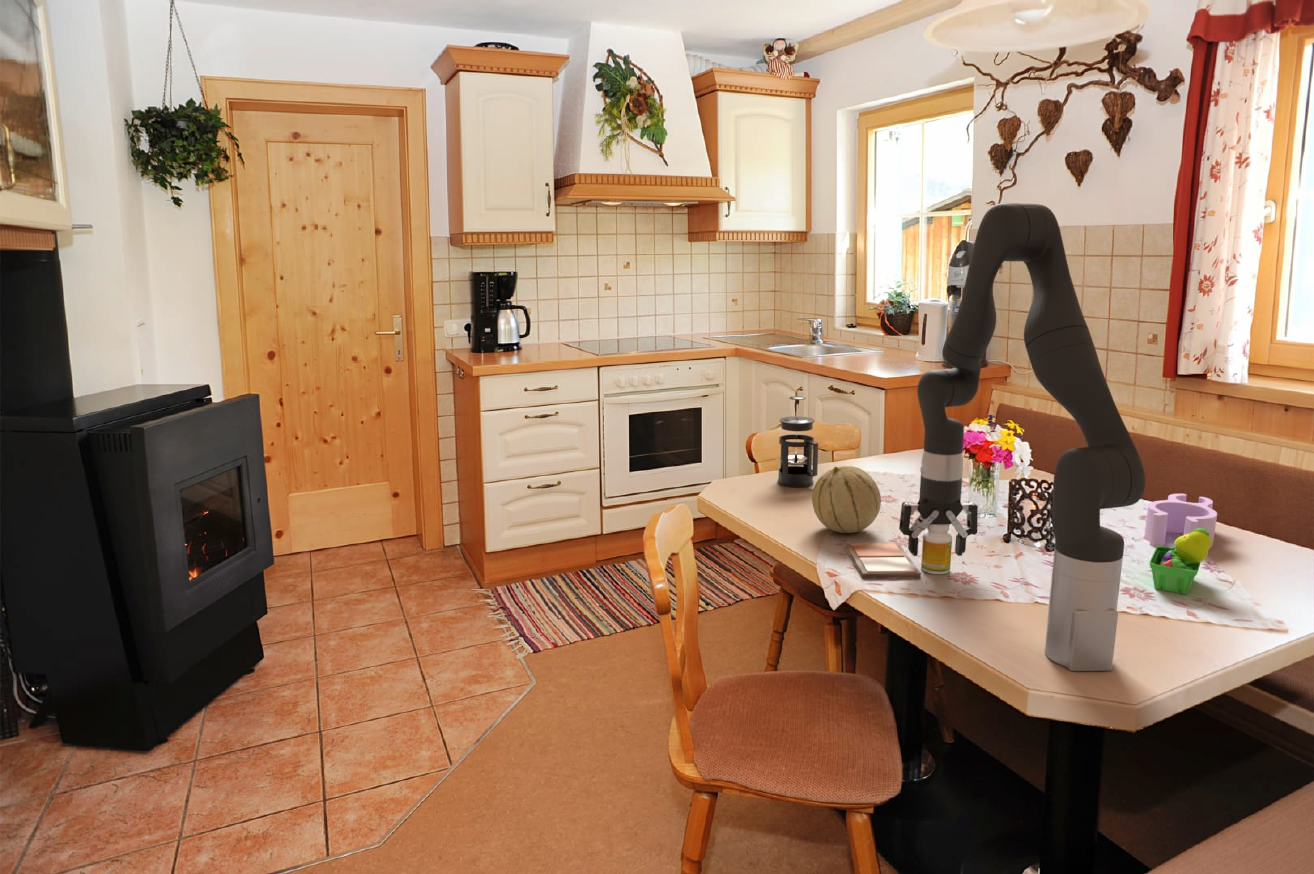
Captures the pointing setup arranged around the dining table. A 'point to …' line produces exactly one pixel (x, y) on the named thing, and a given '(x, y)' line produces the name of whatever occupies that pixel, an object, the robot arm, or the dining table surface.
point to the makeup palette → (882, 560)
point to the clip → (1178, 518)
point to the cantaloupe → (846, 499)
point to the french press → (796, 474)
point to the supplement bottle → (936, 549)
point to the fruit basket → (1180, 561)
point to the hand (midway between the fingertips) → (936, 554)
